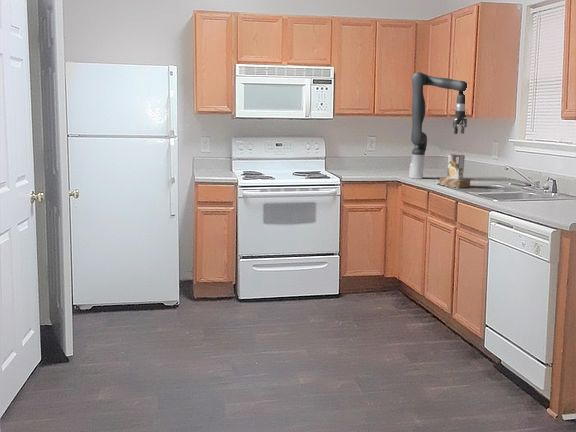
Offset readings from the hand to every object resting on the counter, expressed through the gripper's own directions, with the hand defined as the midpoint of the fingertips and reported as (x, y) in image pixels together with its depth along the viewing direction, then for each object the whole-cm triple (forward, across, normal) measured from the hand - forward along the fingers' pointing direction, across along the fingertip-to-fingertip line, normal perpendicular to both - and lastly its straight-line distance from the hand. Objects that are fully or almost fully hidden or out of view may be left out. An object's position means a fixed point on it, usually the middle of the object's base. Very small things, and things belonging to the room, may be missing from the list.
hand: (459, 133), depth 465 cm
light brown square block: (+34, +22, +13) cm, 42 cm away
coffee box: (+29, +22, +13) cm, 38 cm away
